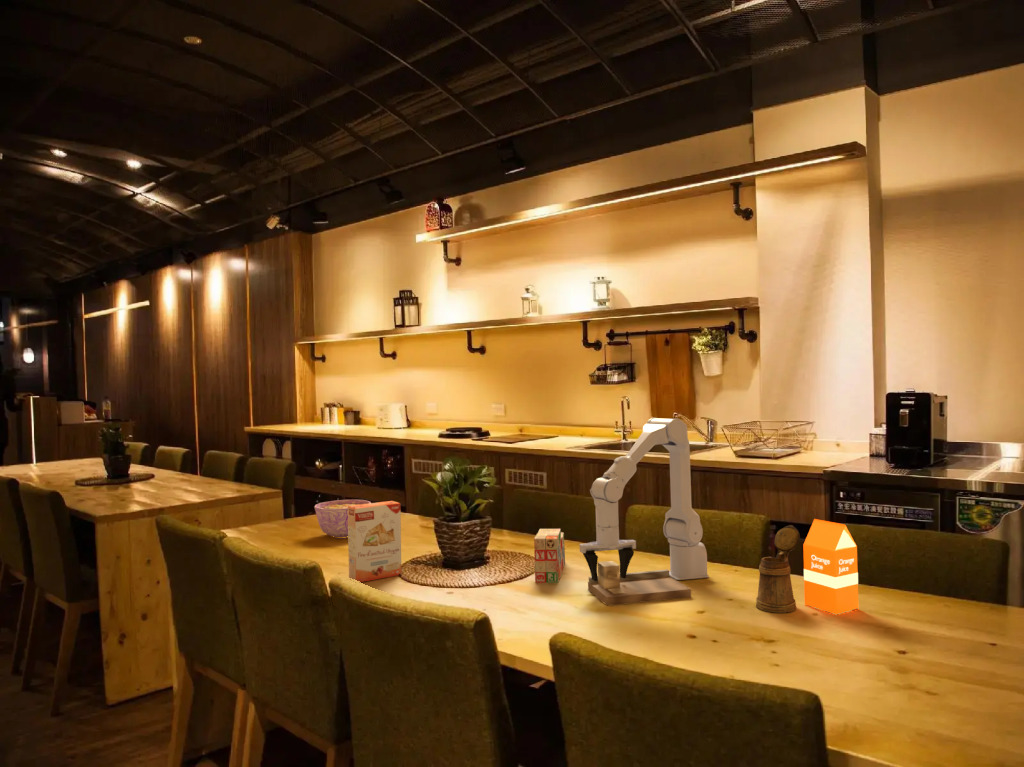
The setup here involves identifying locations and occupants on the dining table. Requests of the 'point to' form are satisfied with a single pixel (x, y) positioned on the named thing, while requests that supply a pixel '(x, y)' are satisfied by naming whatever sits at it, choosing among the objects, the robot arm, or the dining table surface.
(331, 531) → the bowl of food
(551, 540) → the stack of blocks
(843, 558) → the orange juice
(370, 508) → the cracker box
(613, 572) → the tan wooden block
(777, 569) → the wooden mug
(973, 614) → the dining table surface
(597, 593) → the walnut board
